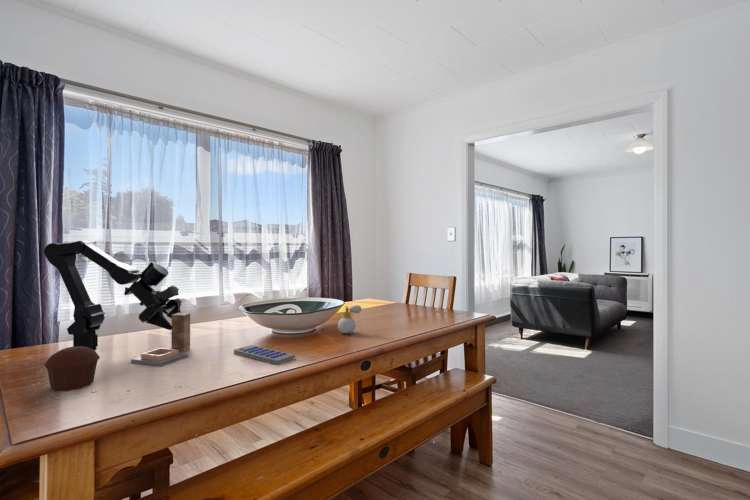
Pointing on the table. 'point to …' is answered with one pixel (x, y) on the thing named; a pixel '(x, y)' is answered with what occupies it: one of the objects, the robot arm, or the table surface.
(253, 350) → the remote control
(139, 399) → the table surface
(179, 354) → the baseplate
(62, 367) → the muffin
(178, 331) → the walnut post
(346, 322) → the perfume bottle
